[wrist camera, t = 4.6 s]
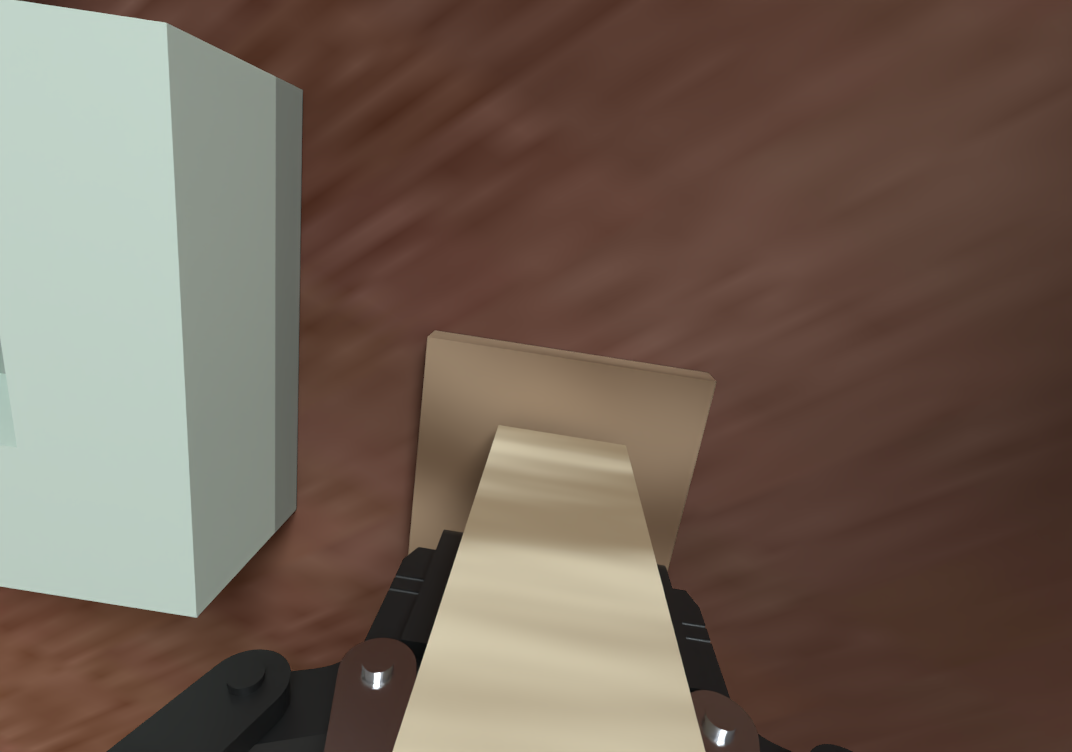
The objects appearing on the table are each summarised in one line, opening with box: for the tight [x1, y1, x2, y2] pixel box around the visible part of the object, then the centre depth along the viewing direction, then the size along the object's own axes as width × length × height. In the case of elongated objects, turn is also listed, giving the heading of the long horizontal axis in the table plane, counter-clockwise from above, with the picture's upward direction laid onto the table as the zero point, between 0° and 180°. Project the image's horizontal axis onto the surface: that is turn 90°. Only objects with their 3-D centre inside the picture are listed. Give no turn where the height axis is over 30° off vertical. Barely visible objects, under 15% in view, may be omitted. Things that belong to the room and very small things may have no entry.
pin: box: [393, 425, 705, 752], centre depth 11 cm, size 4×4×12 cm
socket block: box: [0, 0, 303, 618], centre depth 15 cm, size 14×14×6 cm
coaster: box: [408, 330, 716, 571], centre depth 18 cm, size 9×9×1 cm
